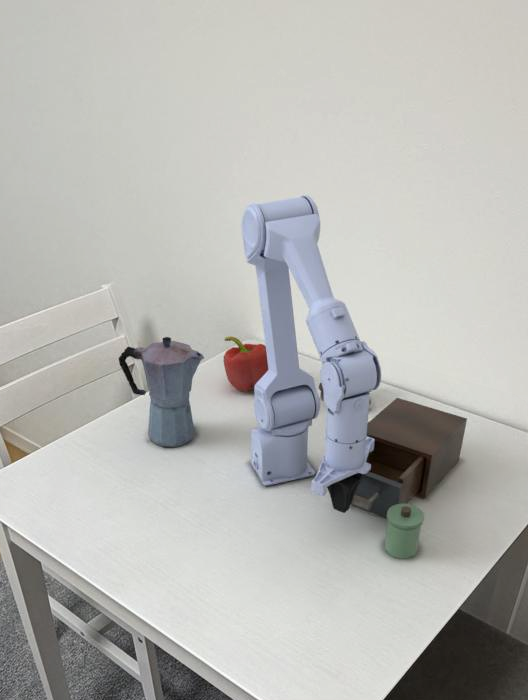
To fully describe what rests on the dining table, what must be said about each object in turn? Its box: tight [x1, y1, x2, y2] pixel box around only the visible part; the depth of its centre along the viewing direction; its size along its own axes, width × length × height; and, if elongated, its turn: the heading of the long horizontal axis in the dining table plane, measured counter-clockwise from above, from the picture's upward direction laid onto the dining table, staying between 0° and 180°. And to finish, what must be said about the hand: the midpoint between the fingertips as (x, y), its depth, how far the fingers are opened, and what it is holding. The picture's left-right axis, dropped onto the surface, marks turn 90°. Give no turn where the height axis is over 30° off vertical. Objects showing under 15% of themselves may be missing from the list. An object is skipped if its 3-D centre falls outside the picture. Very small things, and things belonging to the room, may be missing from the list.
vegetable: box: [223, 336, 269, 392], centre depth 143 cm, size 11×10×10 cm
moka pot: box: [118, 336, 205, 448], centre depth 125 cm, size 10×15×20 cm, turn 89°
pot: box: [384, 503, 425, 560], centre depth 101 cm, size 5×5×8 cm
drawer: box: [350, 441, 427, 520], centre depth 110 cm, size 16×12×7 cm
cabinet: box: [366, 397, 468, 499], centre depth 117 cm, size 14×13×9 cm
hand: (340, 508), depth 105 cm, fingers closed
